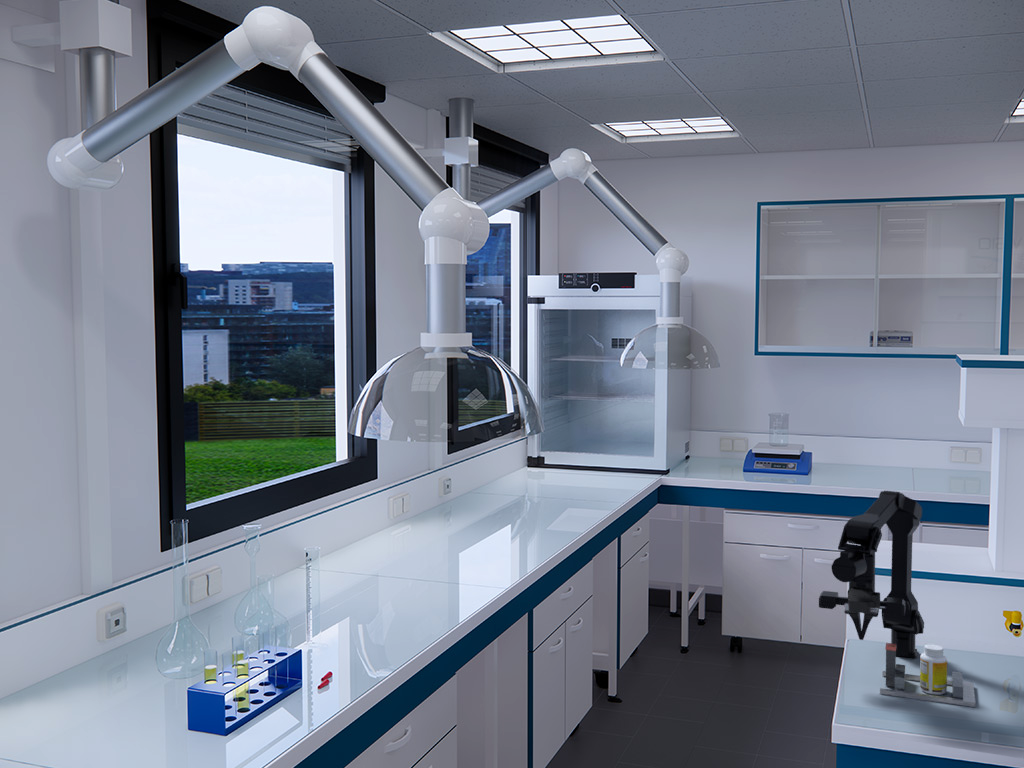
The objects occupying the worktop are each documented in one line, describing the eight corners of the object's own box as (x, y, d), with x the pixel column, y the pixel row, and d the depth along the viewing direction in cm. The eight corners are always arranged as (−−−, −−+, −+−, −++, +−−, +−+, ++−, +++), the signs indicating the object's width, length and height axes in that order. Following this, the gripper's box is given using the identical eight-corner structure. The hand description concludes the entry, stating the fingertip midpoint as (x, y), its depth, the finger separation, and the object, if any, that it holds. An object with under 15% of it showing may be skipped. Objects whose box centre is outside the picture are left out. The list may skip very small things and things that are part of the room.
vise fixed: (882, 674, 222) (882, 660, 222) (973, 686, 214) (973, 671, 214) (879, 693, 210) (880, 678, 210) (975, 707, 202) (975, 691, 202)
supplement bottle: (950, 690, 212) (950, 646, 211) (941, 697, 208) (942, 652, 207) (924, 684, 215) (925, 641, 215) (916, 691, 211) (916, 647, 211)
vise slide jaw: (886, 677, 220) (886, 638, 219) (905, 679, 218) (905, 640, 218) (884, 690, 211) (884, 650, 211) (904, 693, 210) (904, 652, 209)
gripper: (816, 578, 213) (815, 644, 214) (904, 586, 206) (903, 655, 206) (821, 567, 223) (821, 630, 224) (905, 574, 216) (904, 640, 216)
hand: (861, 639), depth 218 cm, fingers closed
